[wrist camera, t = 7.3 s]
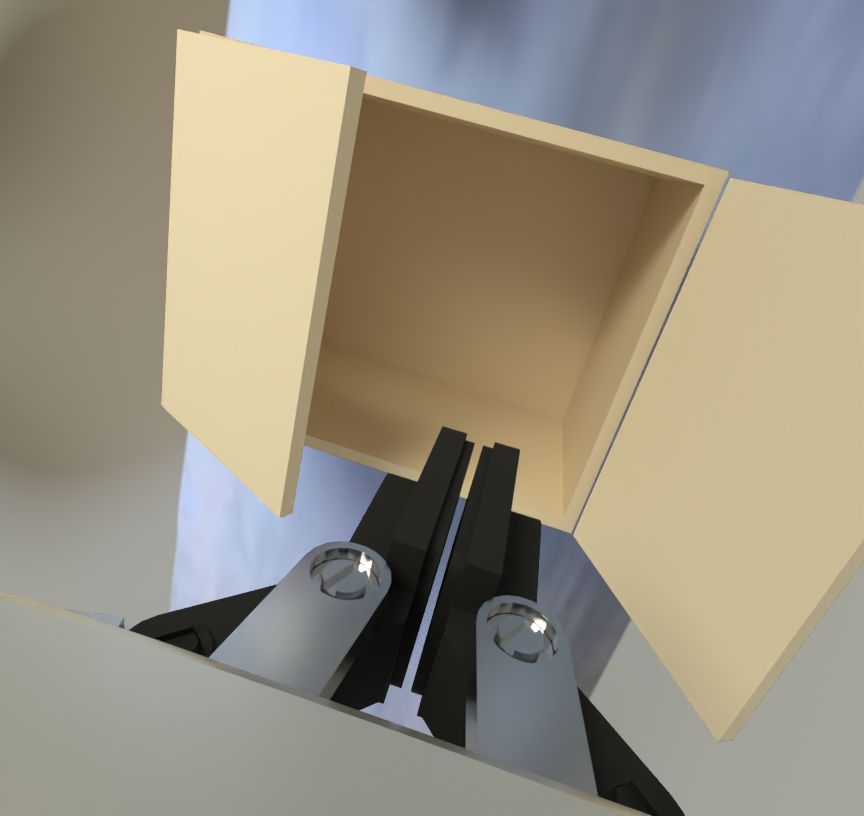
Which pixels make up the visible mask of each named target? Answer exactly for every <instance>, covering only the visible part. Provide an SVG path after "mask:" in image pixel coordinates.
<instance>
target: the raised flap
mask: <svg viewBox="0 0 864 816" xmlns="http://www.w3.org/2000/svg"><path fill="white" fill-rule="evenodd" d="M573 536H574V537H575V539H576V540H577V542H578V543H579V545H580V546H581V547H582V549H583V550H584V552H585V553H586V555H587V556H588V557H589V559H590V560H591V562H592V563H593V565H594V566H595V567H596V569H597V570H598V572H599V573H600V575H601V576H602V577H603V579H604V580H605V582H606V583H607V585H608V586H609V587H610V589H611V590H612V592H613V593H614V595H615V596H616V598H617V599H618V600H619V602H620V603H621V605H622V606H623V608H624V609H625V610H626V612H627V613H628V615H629V616H630V618H631V619H632V620H633V622H634V623H635V625H636V626H637V628H638V629H639V630H640V632H641V633H642V635H643V636H644V638H645V639H646V641H647V642H648V643H649V645H650V646H651V648H652V649H653V650H654V652H655V653H656V655H657V656H658V658H659V659H660V660H661V662H662V663H663V665H664V666H665V668H666V669H667V671H668V672H669V673H670V675H671V676H672V678H673V679H674V680H675V682H676V683H677V685H678V686H679V688H680V689H681V691H682V692H683V694H684V695H685V696H686V697H687V699H688V701H689V702H690V703H691V705H692V706H693V708H694V709H695V710H696V712H697V714H698V715H699V716H700V718H701V719H702V721H703V722H704V723H705V725H706V726H707V728H708V729H709V731H710V732H711V734H712V735H713V736H714V738H715V739H716V741H717V742H725V741H731V740H733V739H734V737H735V736H736V735H737V733H738V732H739V731H740V729H741V728H742V726H743V725H744V724H745V722H746V721H747V720H748V718H749V717H750V716H751V714H752V713H753V711H754V710H755V709H756V707H757V706H758V705H759V703H760V702H761V700H762V699H763V698H764V696H765V695H766V694H767V692H768V691H769V690H770V688H771V687H772V686H773V684H774V683H775V681H776V680H777V679H778V678H779V676H780V675H781V673H782V672H783V671H784V669H785V668H786V667H787V665H788V664H789V662H790V661H791V660H792V658H793V657H794V656H795V654H796V653H797V652H798V650H799V649H800V648H801V646H802V645H803V644H804V642H805V641H806V639H807V638H808V637H809V635H810V634H811V633H812V631H813V630H814V628H815V627H816V626H817V624H818V623H819V622H820V620H821V619H822V618H823V616H824V615H825V614H826V612H827V611H828V609H829V608H830V607H831V605H832V604H833V603H834V601H835V600H836V599H837V597H838V596H839V595H840V593H841V592H842V590H843V589H844V588H845V586H846V585H847V584H848V582H849V581H850V579H851V578H852V577H853V575H854V574H855V573H856V571H857V570H858V569H859V567H860V566H861V565H862V563H863V562H864V205H863V204H858V203H853V202H848V201H843V200H838V199H833V198H828V197H823V196H818V195H813V194H808V193H803V192H798V191H793V190H788V189H784V188H779V187H774V186H769V185H764V184H759V183H754V182H749V181H744V180H739V179H734V178H730V179H729V182H728V184H727V186H726V188H725V191H724V193H723V195H722V197H721V200H720V202H719V204H718V207H717V209H716V211H715V213H714V216H713V218H712V220H711V222H710V225H709V227H708V229H707V232H706V234H705V236H704V238H703V241H702V243H701V245H700V247H699V250H698V252H697V254H696V257H695V259H694V261H693V263H692V266H691V268H690V270H689V272H688V275H687V277H686V279H685V282H684V284H683V286H682V288H681V291H680V293H679V295H678V298H677V300H676V302H675V304H674V307H673V309H672V311H671V313H670V316H669V318H668V320H667V323H666V325H665V327H664V329H663V332H662V334H661V336H660V338H659V341H658V343H657V345H656V348H655V350H654V352H653V354H652V357H651V359H650V361H649V363H648V366H647V368H646V370H645V373H644V375H643V377H642V379H641V382H640V384H639V386H638V388H637V391H636V393H635V395H634V398H633V400H632V402H631V404H630V407H629V409H628V411H627V414H626V416H625V418H624V420H623V423H622V425H621V427H620V429H619V432H618V434H617V436H616V439H615V441H614V443H613V445H612V448H611V450H610V452H609V454H608V457H607V459H606V461H605V464H604V466H603V468H602V470H601V473H600V475H599V477H598V479H597V482H596V484H595V486H594V489H593V491H592V493H591V495H590V498H589V500H588V502H587V504H586V507H585V509H584V511H583V514H582V516H581V518H580V520H579V523H578V525H577V527H576V529H575V532H574V534H573Z"/></svg>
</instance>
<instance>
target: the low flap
mask: <svg viewBox="0 0 864 816" xmlns="http://www.w3.org/2000/svg"><path fill="white" fill-rule="evenodd" d="M177 31H178V32H177V56H176V77H175V78H176V79H175V102H174V125H173V149H172V172H171V195H170V197H171V198H170V218H169V219H170V220H169V243H168V244H169V245H168V265H167V289H166V314H165V336H164V360H163V382H162V406H163V407H164V408H165V409H166V410H167V411H168V412H169V413H170V414H171V415H172V416H173V417H174V418H175V419H177V421H178V422H180V423H181V424H182V425H183V426H184V427H185V428H186V429H187V430H188V431H189V432H190V433H191V434H192V435H193V436H194V437H195V438H196V439H197V440H198V441H199V442H200V443H201V444H202V445H204V446H205V447H206V448H207V449H208V450H209V451H210V452H211V453H212V454H213V455H214V456H215V457H216V458H217V459H218V460H219V461H220V462H221V463H222V464H223V465H224V466H225V467H227V468H228V469H229V470H230V471H231V472H232V473H233V474H234V475H235V476H236V477H237V478H238V479H239V480H240V481H241V482H242V483H243V484H244V485H245V486H246V487H247V488H249V489H250V490H251V491H252V492H253V493H254V494H255V495H256V496H257V497H258V498H259V499H260V500H261V501H262V502H263V503H264V504H265V505H266V506H267V507H268V508H269V509H270V510H272V511H273V512H274V513H275V514H276V515H277V516H278V517H279V518H281V517H284V516H286V515H289V514H291V513H292V512H293V506H294V500H295V494H296V488H297V482H298V476H299V470H300V464H301V458H302V452H303V447H304V441H305V435H306V429H307V423H308V417H309V411H310V405H311V399H312V393H313V387H314V381H315V375H316V370H317V364H318V358H319V352H320V346H321V340H322V334H323V328H324V322H325V316H326V310H327V304H328V298H329V293H330V287H331V281H332V275H333V269H334V263H335V257H336V251H337V245H338V239H339V233H340V227H341V221H342V216H343V210H344V204H345V198H346V192H347V186H348V180H349V174H350V168H351V162H352V156H353V150H354V144H355V139H356V133H357V127H358V121H359V115H360V109H361V103H362V97H363V91H364V85H365V79H366V73H367V72H366V71H363V70H360V69H357V68H354V67H352V66H347V65H343V64H338V63H333V62H329V61H324V60H319V59H315V58H310V57H305V56H301V55H296V54H291V53H286V52H282V51H277V50H272V49H268V48H263V47H258V46H254V45H249V44H244V43H240V42H235V41H230V40H226V39H221V38H216V37H212V36H207V35H202V34H197V33H192V32H188V31H183V30H179V29H178V30H177Z"/></svg>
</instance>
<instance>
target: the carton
mask: <svg viewBox="0 0 864 816" xmlns="http://www.w3.org/2000/svg"><path fill="white" fill-rule="evenodd" d="M200 34H202V35H207V36H212V37H216V38H221V39H226V40H230V41H235V42H240V43H244V44H249V45H253V44H250V43H246V42H242V41H238V40H235V39H231V38H227V37H223V36H219V35H216V34H212V33H208V32H204V31H200ZM254 46H257V45H254ZM258 47H261V46H258ZM263 48H265V47H263ZM729 172H730V171H726V170H723V169H719V168H715V167H711V166H708V165H704V164H700V163H696V162H693V161H689V160H685V159H681V158H678V157H674V156H670V155H666V154H663V153H659V152H655V151H651V150H647V149H644V148H640V147H636V146H632V145H629V144H625V143H621V142H617V141H614V140H610V139H606V138H602V137H599V136H595V135H591V134H587V133H584V132H580V131H576V130H572V129H569V128H565V127H561V126H557V125H554V124H550V123H546V122H542V121H539V120H535V119H531V118H527V117H524V116H520V115H516V114H512V113H509V112H505V111H501V110H497V109H494V108H490V107H486V106H482V105H479V104H475V103H471V102H467V101H464V100H460V99H456V98H452V97H449V96H445V95H441V94H437V93H433V92H430V91H426V90H422V89H418V88H415V87H411V86H407V85H403V84H400V83H396V82H392V81H388V80H385V79H381V78H377V77H373V76H370V75H366V79H365V85H364V91H363V97H362V103H361V109H360V115H359V121H358V127H357V133H356V139H355V144H354V150H353V156H352V162H351V168H350V174H349V180H348V186H347V192H346V198H345V204H344V210H343V216H342V221H341V227H340V233H339V239H338V245H337V251H336V257H335V263H334V269H333V275H332V281H331V287H330V293H329V298H328V304H327V310H326V316H325V322H324V328H323V334H322V340H321V346H320V352H319V358H318V364H317V370H316V375H315V381H314V387H313V393H312V399H311V405H310V411H309V417H308V423H307V429H306V435H305V441H304V445H305V446H308V447H311V448H314V449H317V450H320V451H323V452H326V453H329V454H332V455H335V456H338V457H341V458H344V459H347V460H350V461H354V462H357V463H360V464H363V465H366V466H369V467H372V468H375V469H378V470H381V471H384V472H387V473H392V474H395V475H398V476H401V477H404V478H408V479H411V480H414V481H417V482H418V479H419V477H420V475H421V473H422V470H423V468H424V466H425V464H426V462H427V459H428V457H429V455H430V453H431V450H432V448H433V446H434V444H435V442H436V439H437V437H438V435H439V433H440V430H441V428H442V426H444V427H447V428H451V429H454V430H457V431H461V432H464V433H467V437H466V440H467V441H470V442H474V443H475V445H474V449H473V452H472V455H471V459H470V462H469V465H468V469H467V472H466V476H465V479H464V482H463V486H462V489H461V492H460V496H459V497H462V498H465V499H467V497H468V493H469V490H470V487H471V484H472V480H473V477H474V474H475V470H476V467H477V464H478V461H479V457H480V454H481V451H482V448H483V445H484V446H487V447H490V448H493V446H494V443H495V442H497V443H500V444H504V445H507V446H510V447H514V448H517V449H520V455H519V462H518V469H517V475H516V482H515V489H514V496H513V503H512V509H511V511H513V512H516V513H520V514H523V515H526V516H529V517H532V518H536V519H539V520H540V521H541V524H544V525H547V526H550V527H553V528H556V529H559V530H562V531H565V532H568V533H572V531H573V529H574V526H575V524H576V522H577V520H578V517H579V515H580V513H581V510H582V508H583V506H584V504H585V501H586V499H587V497H588V494H589V492H590V490H591V488H592V485H593V483H594V481H595V478H596V476H597V474H598V472H599V469H600V467H601V465H602V462H603V460H604V458H605V456H606V453H607V451H608V449H609V446H610V444H611V442H612V440H613V437H614V435H615V433H616V430H617V428H618V426H619V424H620V421H621V419H622V417H623V414H624V412H625V410H626V408H627V405H628V403H629V401H630V398H631V396H632V394H633V392H634V389H635V387H636V385H637V382H638V380H639V378H640V376H641V373H642V371H643V369H644V366H645V364H646V362H647V360H648V357H649V355H650V353H651V350H652V348H653V346H654V344H655V341H656V339H657V337H658V334H659V332H660V330H661V328H662V325H663V323H664V321H665V318H666V316H667V314H668V311H669V309H670V307H671V305H672V302H673V300H674V298H675V295H676V293H677V291H678V289H679V286H680V284H681V282H682V279H683V277H684V275H685V273H686V270H687V268H688V266H689V263H690V261H691V259H692V257H693V254H694V252H695V250H696V247H697V245H698V243H699V241H700V238H701V236H702V234H703V231H704V229H705V227H706V225H707V222H708V220H709V218H710V215H711V213H712V211H713V209H714V206H715V204H716V202H717V199H718V197H719V195H720V193H721V190H722V188H723V186H724V183H725V181H726V179H727V177H728V174H729Z"/></svg>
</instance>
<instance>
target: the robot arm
mask: <svg viewBox="0 0 864 816" xmlns="http://www.w3.org/2000/svg"><path fill="white" fill-rule="evenodd" d="M466 437H467V433H464V432H461V431H457V430H454V429H451V428H447V427H444V426H442V428H441V430H440V433H439V435H438V437H437V439H436V442H435V444H434V446H433V448H432V450H431V453H430V455H429V457H428V459H427V462H426V464H425V466H424V468H423V470H422V473H421V475H420V477H419V479H418V482H417V481H414V480H411V479H408V478H404V477H401V476H398V475H395V474H392V473H388V474H387V475H386V477H385V479H384V480H383V482H382V484H381V486H380V488H379V489H378V491H377V493H376V495H375V497H374V498H373V500H372V502H371V504H370V506H369V507H368V509H367V511H366V513H365V515H364V516H363V518H362V520H361V522H360V524H359V525H358V527H357V529H356V531H355V533H354V534H353V536H352V538H351V540H350V541H349V542H342V541H340V542H331V543H326V544H323V545H320V546H318V547H315V548H314V549H313V550H311V551H310V552H309V553H307V554H306V555H305V556H304V557H303V558H302V559H301V560H300V561H299V563H298V564H297V565H296V566H295V567H294V568H293V569H292V570H291V571H290V572H289V573H288V574H287V575H286V576H285V577H284V578H283V580H282V581H281V582H280V583H279V584H277V585H273V586H269V587H265V588H262V589H258V590H254V591H250V592H246V593H242V594H238V595H234V596H231V597H227V598H223V599H219V600H215V601H211V602H207V603H203V604H199V605H196V606H192V607H188V608H184V609H180V610H176V611H172V612H168V613H165V614H161V615H157V616H155V617H152V618H150V619H147V620H144V621H142V622H140V623H139V624H137V625H136V626H127V625H124V617H120V616H113V615H105V614H98V613H90V612H82V611H74V610H67V609H61V608H58V607H54V606H51V605H47V604H44V603H41V602H37V601H33V600H30V599H27V598H23V597H20V596H16V595H11V594H6V593H2V592H0V816H685V815H684V813H683V811H682V810H681V809H680V807H679V806H678V804H677V803H676V801H675V800H674V799H673V797H672V796H671V795H670V793H669V792H668V791H667V790H666V789H665V788H664V786H663V785H662V784H661V783H660V782H659V781H658V779H657V778H656V777H655V776H654V775H653V774H652V772H651V771H650V770H649V769H648V768H647V767H646V766H645V764H644V763H643V762H642V761H641V760H640V759H639V757H638V756H637V755H636V754H635V753H634V752H633V751H632V749H631V748H630V747H629V746H628V745H627V743H626V742H625V741H624V740H623V739H622V738H621V736H620V735H619V734H618V733H617V732H616V731H615V729H614V728H613V727H612V726H611V725H610V724H609V723H608V721H607V720H606V719H605V718H604V717H603V716H602V714H601V713H600V712H599V711H598V710H597V709H596V707H595V706H594V705H593V704H592V703H591V702H590V700H589V699H588V698H587V697H586V696H585V695H584V694H583V692H582V691H581V690H580V689H579V688H578V687H577V684H576V679H575V673H574V668H573V663H572V658H571V652H570V647H569V642H568V639H567V636H566V633H565V631H564V628H563V627H562V626H561V624H560V623H559V622H558V620H557V619H556V618H555V617H554V616H553V615H552V614H551V613H550V612H549V611H547V610H546V609H545V608H544V607H542V606H540V605H538V604H537V588H538V571H539V555H540V538H541V521H540V520H539V519H536V518H532V517H529V516H526V515H523V514H520V513H516V512H513V511H511V509H512V503H513V496H514V489H515V482H516V475H517V469H518V462H519V455H520V449H517V448H514V447H510V446H507V445H504V444H500V443H497V442H495V443H494V446H493V448H490V447H487V446H484V445H483V448H482V451H481V454H480V457H479V461H478V464H477V467H476V470H475V474H474V477H473V480H472V484H471V487H470V490H469V493H468V497H467V500H466V503H465V507H464V510H463V513H462V516H461V520H460V523H459V526H458V530H457V533H456V536H455V539H454V543H453V546H452V549H451V553H450V556H449V560H448V563H447V566H446V570H445V574H444V577H443V581H442V584H441V588H440V591H439V595H438V598H437V602H436V605H435V609H434V612H433V616H432V619H431V623H430V626H429V630H428V633H427V637H426V640H425V644H424V647H423V651H422V654H421V658H420V661H419V665H418V668H417V672H416V675H415V679H414V682H413V686H412V689H411V692H414V693H417V694H419V695H422V698H421V702H420V706H419V710H418V713H417V716H420V717H422V718H423V720H424V721H425V723H426V725H427V726H428V728H429V730H430V731H431V733H432V734H433V736H434V737H432V736H429V735H426V734H423V733H420V732H418V731H415V730H412V729H409V728H406V727H404V726H401V725H398V724H395V723H392V722H390V721H387V720H384V719H381V718H378V717H375V716H373V715H370V714H367V713H364V712H361V711H359V710H361V709H363V708H366V707H368V706H370V705H373V704H375V703H378V702H380V703H383V704H384V701H385V698H386V694H387V691H388V688H389V685H390V684H391V685H394V686H397V687H399V688H401V687H402V684H403V681H404V678H405V674H406V671H407V668H408V664H409V661H410V658H411V655H412V651H413V648H414V645H415V642H416V638H417V635H418V632H419V628H420V625H421V622H422V619H423V615H424V612H425V609H426V606H427V602H428V599H429V596H430V592H431V589H432V586H433V583H434V579H435V576H436V573H437V569H438V566H439V563H440V560H441V556H442V553H443V550H444V546H445V543H446V540H447V536H448V533H449V530H450V526H451V523H452V519H453V516H454V513H455V509H456V506H457V503H458V499H459V496H460V492H461V489H462V486H463V482H464V479H465V476H466V472H467V469H468V465H469V462H470V459H471V455H472V452H473V449H474V445H475V443H474V442H470V441H467V440H466Z"/></svg>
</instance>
